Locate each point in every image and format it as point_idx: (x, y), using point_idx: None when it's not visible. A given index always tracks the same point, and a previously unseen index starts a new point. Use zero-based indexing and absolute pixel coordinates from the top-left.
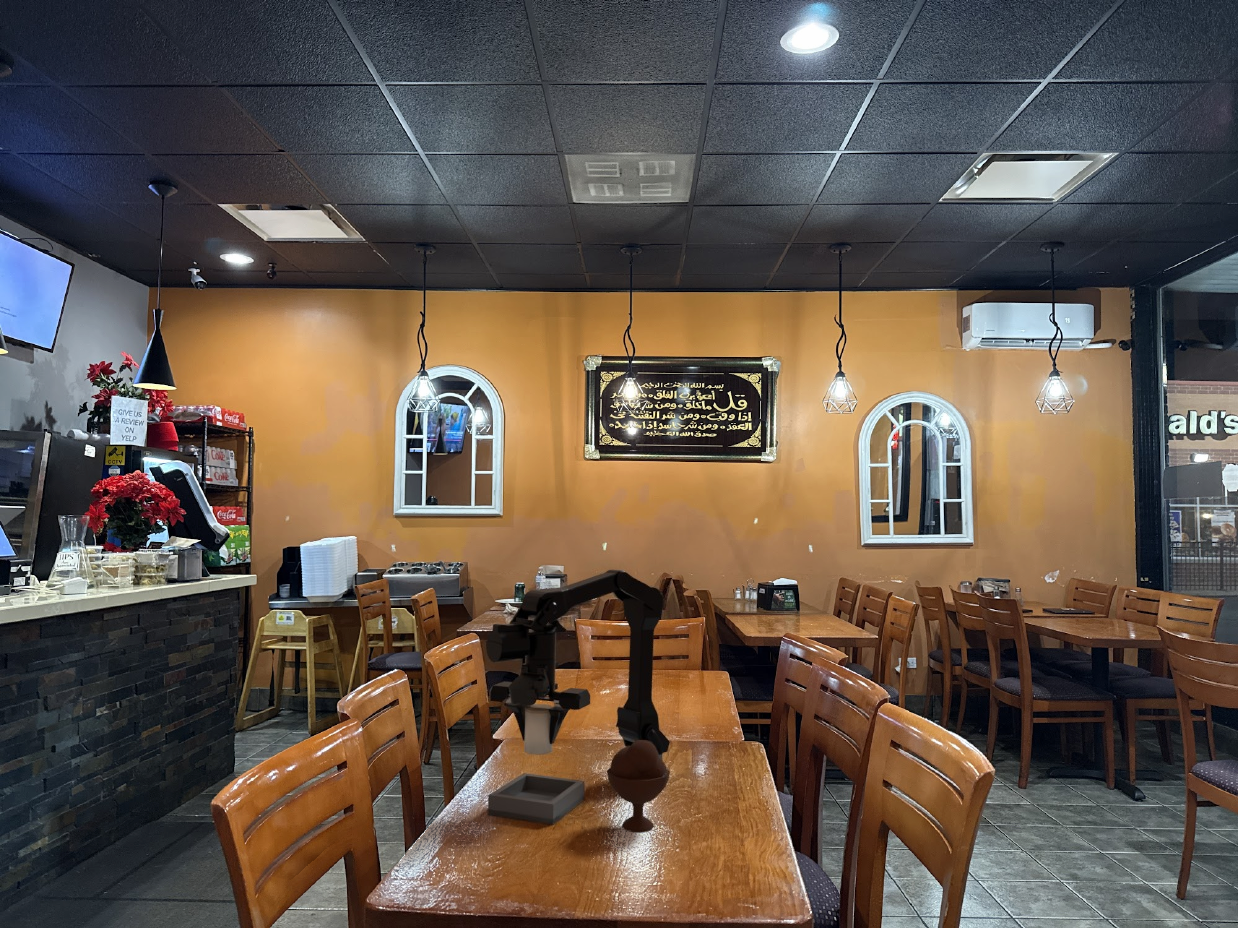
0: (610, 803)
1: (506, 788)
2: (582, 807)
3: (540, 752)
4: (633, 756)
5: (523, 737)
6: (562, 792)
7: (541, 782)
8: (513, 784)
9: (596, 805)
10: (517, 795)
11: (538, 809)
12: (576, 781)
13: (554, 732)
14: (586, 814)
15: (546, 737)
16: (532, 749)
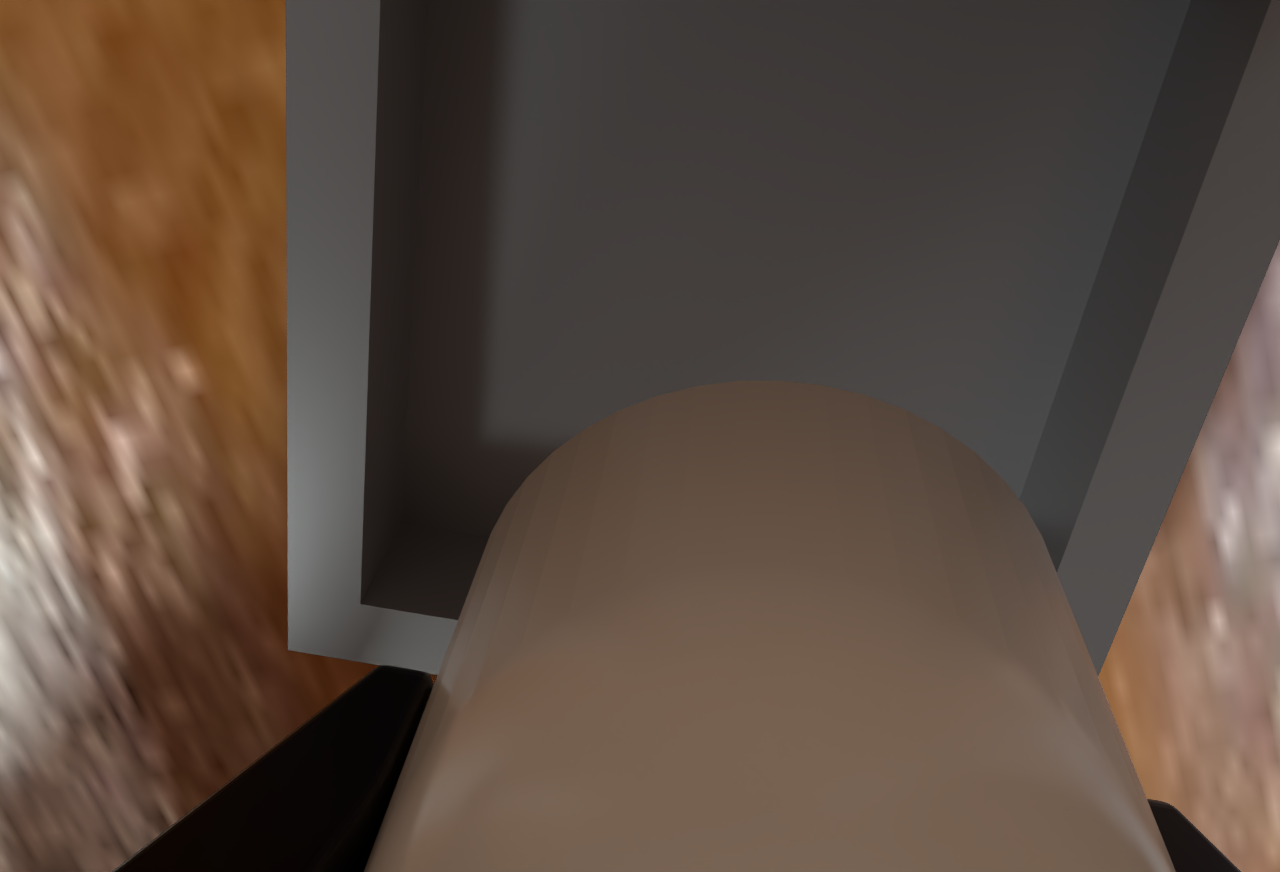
0: (81, 492)
1: (1183, 222)
2: (285, 338)
3: (624, 431)
4: None
5: (1180, 841)
6: (370, 220)
7: None
8: (1112, 409)
9: (179, 418)
10: (1032, 410)
11: None
12: (369, 623)
13: (160, 848)
14: (160, 149)
15: (445, 717)
16: (818, 439)
